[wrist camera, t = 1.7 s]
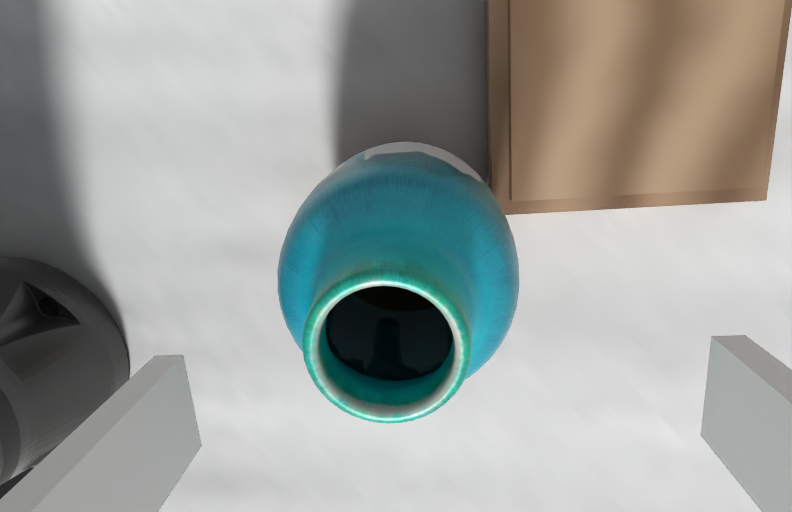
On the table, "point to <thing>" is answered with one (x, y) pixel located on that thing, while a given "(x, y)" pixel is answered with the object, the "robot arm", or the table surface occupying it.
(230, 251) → the table surface
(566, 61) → the pedestal
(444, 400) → the vase
